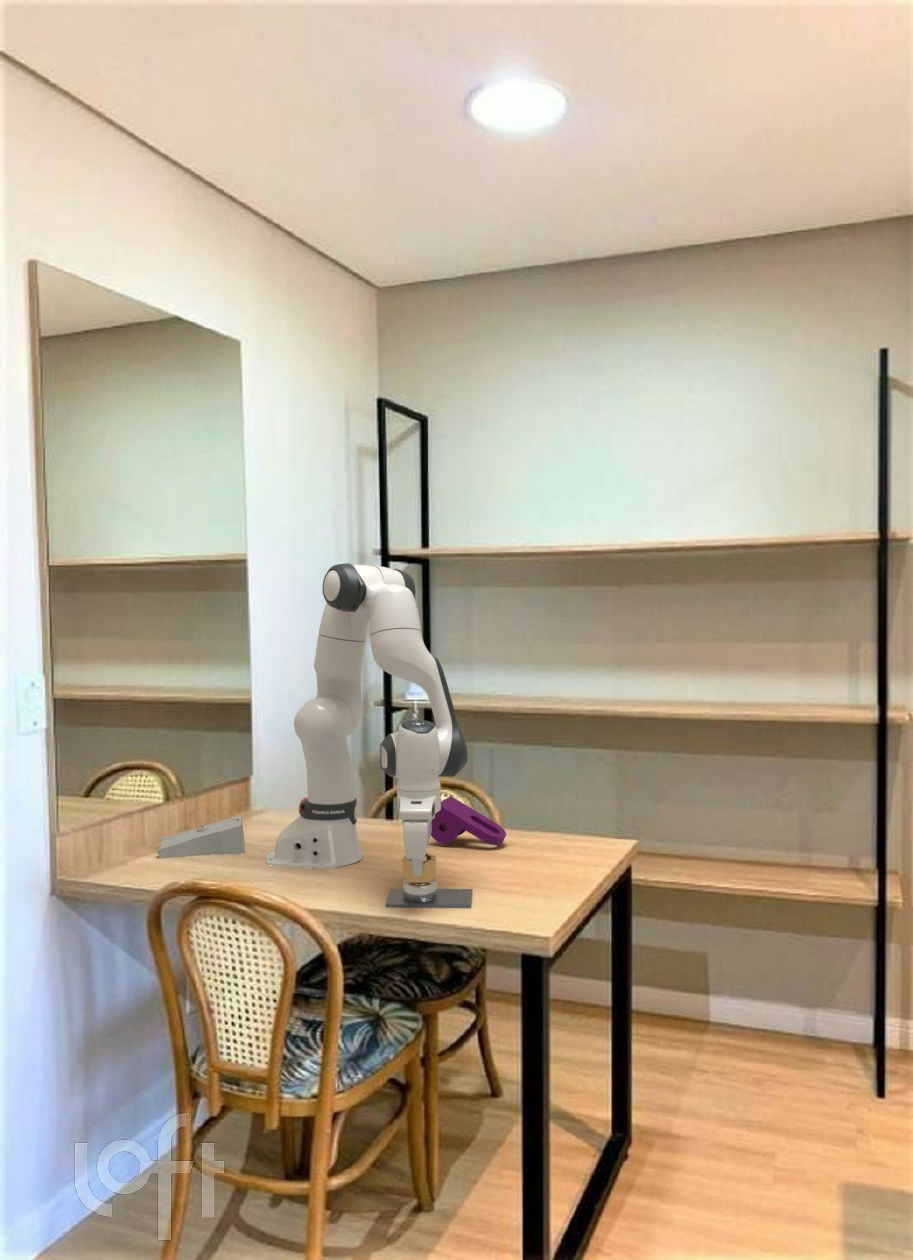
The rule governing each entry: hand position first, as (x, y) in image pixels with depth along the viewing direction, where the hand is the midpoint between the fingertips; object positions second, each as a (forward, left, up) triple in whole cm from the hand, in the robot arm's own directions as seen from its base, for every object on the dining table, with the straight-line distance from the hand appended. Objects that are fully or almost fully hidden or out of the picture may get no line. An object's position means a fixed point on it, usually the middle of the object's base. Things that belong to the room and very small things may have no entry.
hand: (419, 869), depth 198 cm
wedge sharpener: (-57, +38, -7) cm, 69 cm away
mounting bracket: (+16, +44, -9) cm, 47 cm away
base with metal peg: (+2, 0, -7) cm, 7 cm away
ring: (0, 0, -2) cm, 2 cm away
